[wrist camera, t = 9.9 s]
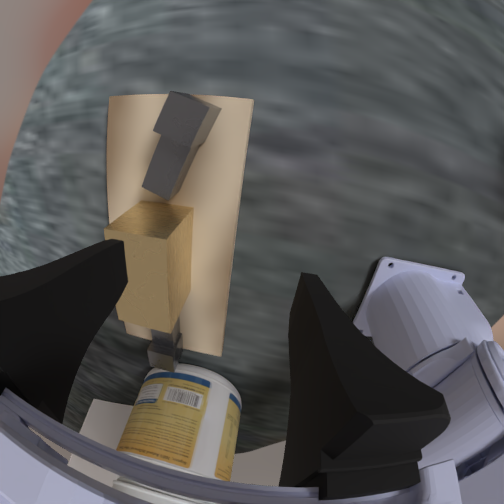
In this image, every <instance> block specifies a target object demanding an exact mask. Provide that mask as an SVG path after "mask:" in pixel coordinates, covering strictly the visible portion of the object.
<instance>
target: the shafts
mask: <svg viewBox="0 0 504 504" xmlns="http://www.w3.org/2000/svg"><path fill="white" fill-rule="evenodd" d="M221 110H222V108H220V107H218V106H215V105H213V104H211V103H209V102H206V101H204V100H202V99H199V98H197V97H195V96H192V95H190V94H186V93H180V92H174V91H170V93H169V95H168V97H167V99H166V101H165V103H164V105H163V108H162V110H161V112H160V114H159V117H158V119H157V121H156V124H155V126H154V129H153V131H154V132H156V133H158V134H161V137H160V139H159V142H158V144H157V147H156V149H155V152H154V154H153V157H152V159H151V162H150V165H149V167H148V170H147V173H146V175H145V178H144V181H143V184H142V188H144V189H146V190H148V191H150V192H152V193H154V194H156V195H158V196H160V197H162V198H164V199H166V200H168V201H169V200H170V199H171V198H172V197H173V196H175V195H176V194H177V193H178V192H179V191H180V189H181V187H182V184H183V182H184V180H185V177H186V175H187V173H188V171H189V168H190V166H191V164H192V162H193V160H194V158H195V155H196V153H197V151H198V149H199V147H200V145H201V143H204V142H205V141H206V139H207V137H208V135H209V133H210V131H211V129H212V127H213V125H214V123H215V121H216V119H217V117H218V115H219V113H220V111H221ZM151 334H152V341H151V343H150V345H149V347H148V349H147V353H148V358H149V363H150V366H151V367H155V368H158V369H162V370H166V371H169V372H173V373H175V370H176V367H177V364H178V362H179V359H180V357H181V354H182V351H183V338H182V333H180V317H178V319H177V321H176V323H175V325H174V328H173V330H172V332H171V334H170V333H166V332H162V331H158V330H154V329H151Z"/></svg>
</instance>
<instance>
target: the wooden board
mask: <svg viewBox="0 0 504 504" xmlns="http://www.w3.org/2000/svg"><path fill="white" fill-rule="evenodd" d="M168 95H169V94H144V95H124V96H111V97H109V110H108V126H107V193H108V211H109V224H110V223H112V222H113V221H114V220H116V219H117V218H118V217H120V216H121V215H122V214H124V213H125V212H126V211H128V210H129V209H130V208H132V207H133V206H134V205H136V204H137V203H138V202H140V201H141V200H143V201H151V202H158V203H166V204H173V205H180V206H187V207H194V213H193V233H192V259H191V291H190V293H189V295H188V297H187V300H186V302H185V304H184V306H183V308H182V310H181V312H180V315H179V317H180V333H182V338H183V349H188V350H192V351H196V352H201V353H206V354H211V355H215V356H221V355H222V351H223V343H224V333H225V324H226V315H227V306H228V297H229V288H230V279H231V271H232V262H233V254H234V246H235V238H236V230H237V222H238V214H239V206H240V198H241V191H242V183H243V176H244V169H245V161H246V154H247V147H248V140H249V133H250V126H251V119H252V112H253V105H254V100H252V99H244V98H234V97H223V96H210V95H192V96H195V97H197V98H199V99H202V100H204V101H206V102H209V103H211V104H213V105H215V106H218V107H220V108H222V110H221V111H220V113H219V115H218V117H217V119H216V121H215V123H214V125H213V127H212V129H211V131H210V133H209V135H208V137H207V139H206V141H205V142H204V143H201V145H200V147H199V149H198V151H197V153H196V155H195V158H194V160H193V162H192V164H191V166H190V168H189V171H188V173H187V175H186V177H185V180H184V182H183V184H182V187H181V189H180V191H179V192H178V193H177V194H176V195H175V196H173V197H172V198H171V199H170V200H169V201H168V200H166V199H164V198H162V197H160V196H158V195H156V194H154V193H152V192H150V191H148V190H146V189H144V188H142V184H143V181H144V178H145V175H146V173H147V170H148V167H149V165H150V162H151V159H152V157H153V154H154V152H155V149H156V147H157V144H158V142H159V139H160V137H161V134H158V133H156V132H154V131H153V129H154V126H155V124H156V121H157V119H158V117H159V114H160V112H161V110H162V108H163V105H164V103H165V101H166V99H167V97H168ZM124 323H125V327H126V332H127V334H131V335H134V336H138V337H141V338H145V339H148V340H152V334H151V329H150V328H146V327H143V326H139V325H135V324H132V323H128V322H125V321H124Z"/></svg>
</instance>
